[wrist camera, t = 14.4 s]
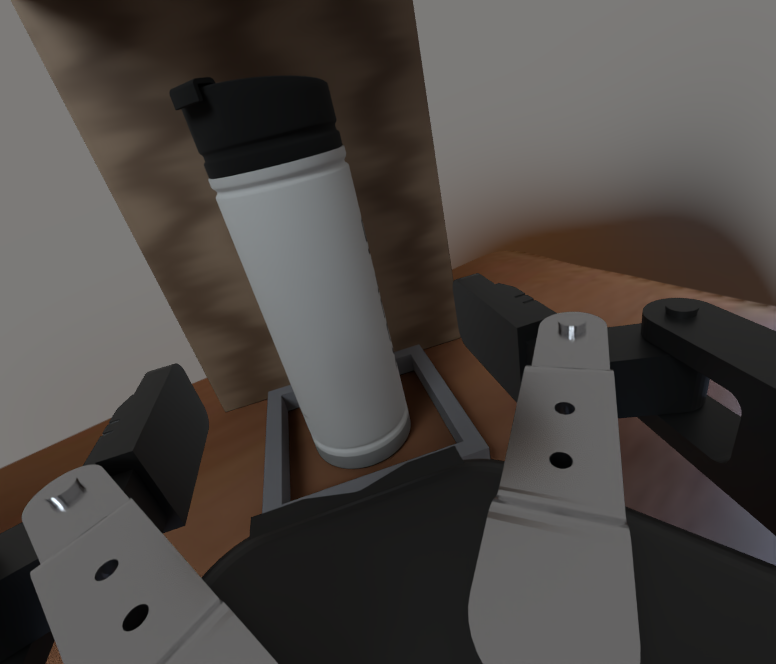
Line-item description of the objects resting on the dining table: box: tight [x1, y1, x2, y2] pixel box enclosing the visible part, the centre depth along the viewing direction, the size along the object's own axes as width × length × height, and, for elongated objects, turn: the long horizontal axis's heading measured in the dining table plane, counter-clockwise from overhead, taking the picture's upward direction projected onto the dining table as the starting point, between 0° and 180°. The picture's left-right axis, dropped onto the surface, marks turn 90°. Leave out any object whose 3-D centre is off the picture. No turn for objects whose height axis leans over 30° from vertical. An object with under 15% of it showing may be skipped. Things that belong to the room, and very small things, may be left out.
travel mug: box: [169, 75, 411, 469], centre depth 21 cm, size 6×7×20 cm
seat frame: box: [262, 344, 490, 513], centre depth 26 cm, size 12×12×2 cm
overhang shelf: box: [11, 0, 461, 412], centre depth 21 cm, size 20×16×28 cm
